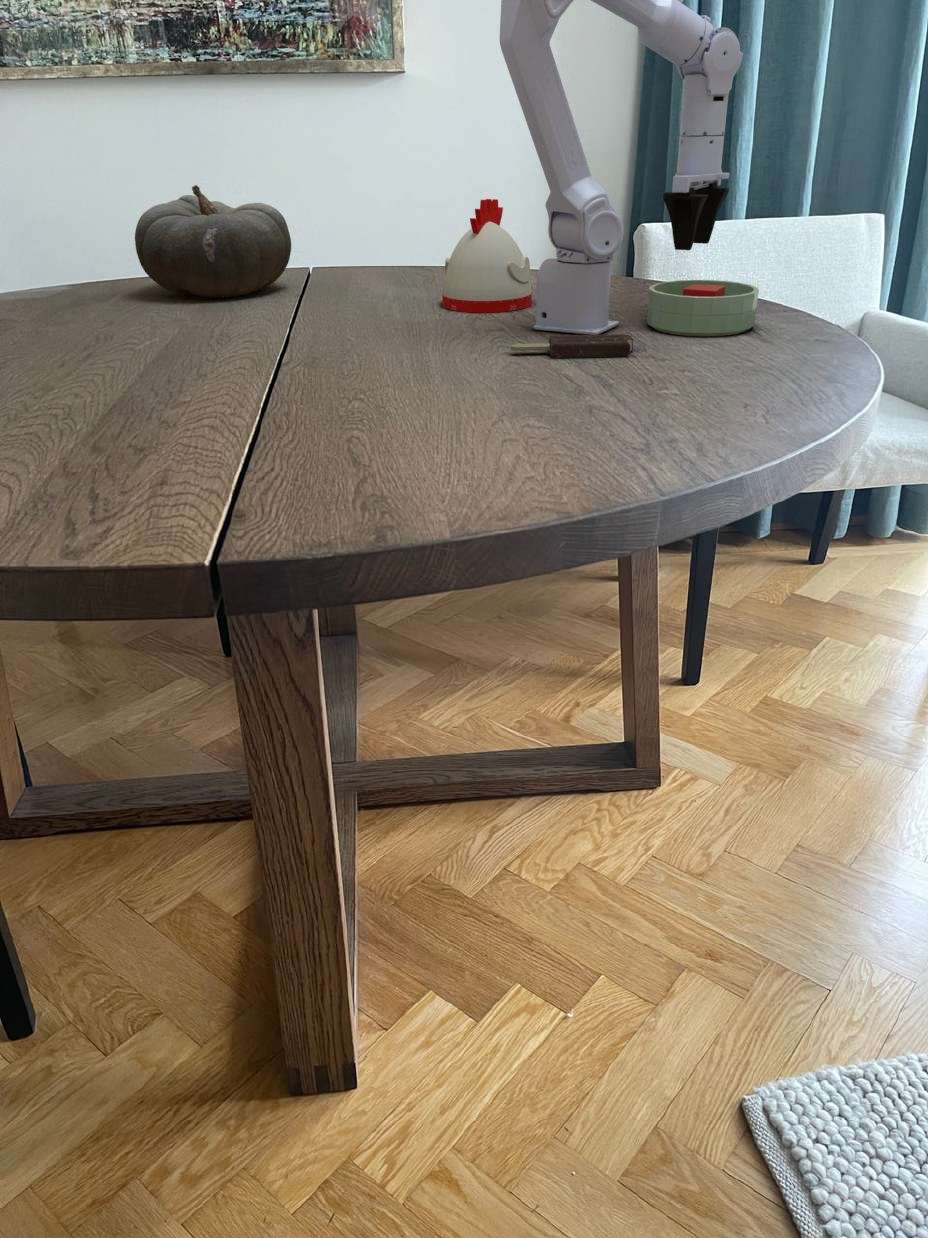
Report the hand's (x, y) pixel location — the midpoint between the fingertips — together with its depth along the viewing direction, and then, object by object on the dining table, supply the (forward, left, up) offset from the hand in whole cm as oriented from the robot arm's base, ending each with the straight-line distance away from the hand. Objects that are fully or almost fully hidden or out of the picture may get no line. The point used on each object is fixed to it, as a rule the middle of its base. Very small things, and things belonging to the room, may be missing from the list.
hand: (692, 246), depth 129 cm
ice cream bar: (-5, -28, -10) cm, 30 cm away
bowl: (+4, -6, -9) cm, 12 cm away
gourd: (-79, -11, -10) cm, 80 cm away
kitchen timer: (-31, -3, -10) cm, 33 cm away
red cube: (+4, -6, -9) cm, 11 cm away
